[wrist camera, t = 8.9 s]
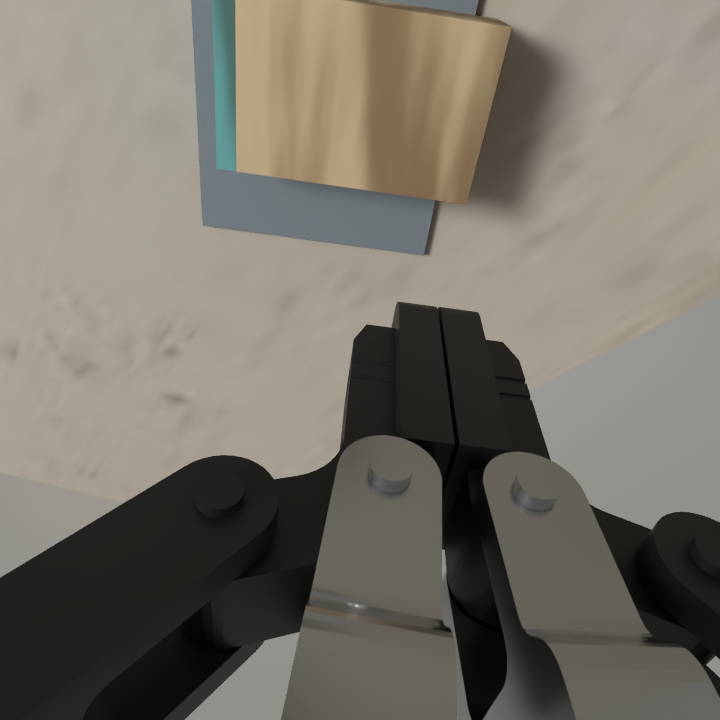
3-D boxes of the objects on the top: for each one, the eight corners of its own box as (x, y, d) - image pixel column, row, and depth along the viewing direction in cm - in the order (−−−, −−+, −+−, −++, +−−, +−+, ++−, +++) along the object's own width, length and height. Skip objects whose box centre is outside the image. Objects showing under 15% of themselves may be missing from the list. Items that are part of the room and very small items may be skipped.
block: (511, 27, 24) (211, -21, 23) (466, 204, 28) (216, 168, 28) (496, 18, 27) (233, -24, 26) (458, 179, 32) (234, 146, 31)
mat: (502, -118, 24) (503, -119, 24) (423, 252, 35) (423, 255, 34) (185, -170, 23) (182, -172, 23) (204, 222, 34) (202, 225, 34)
